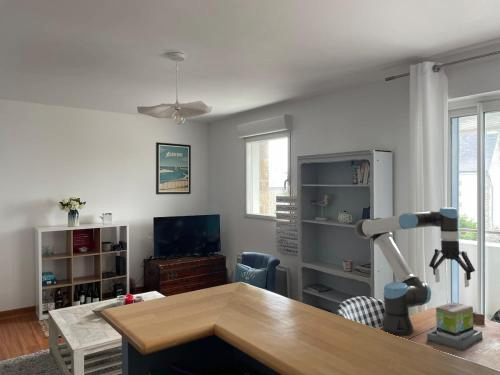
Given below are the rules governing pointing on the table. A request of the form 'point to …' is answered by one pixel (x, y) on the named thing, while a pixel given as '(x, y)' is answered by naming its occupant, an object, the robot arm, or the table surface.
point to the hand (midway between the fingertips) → (451, 284)
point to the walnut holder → (478, 318)
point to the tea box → (454, 321)
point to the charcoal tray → (452, 343)
